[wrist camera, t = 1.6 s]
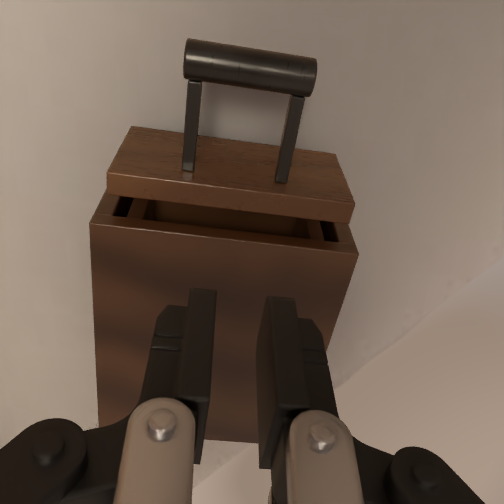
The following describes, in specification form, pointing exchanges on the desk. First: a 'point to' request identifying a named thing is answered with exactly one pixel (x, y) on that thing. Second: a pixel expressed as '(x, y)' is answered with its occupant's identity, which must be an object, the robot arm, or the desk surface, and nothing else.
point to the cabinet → (227, 304)
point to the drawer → (234, 157)
